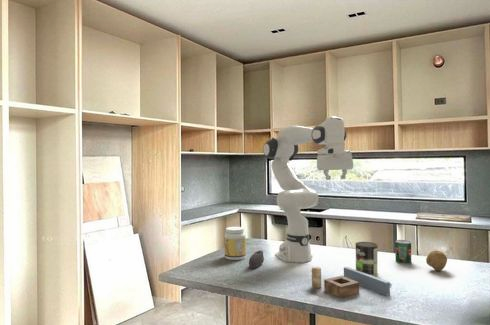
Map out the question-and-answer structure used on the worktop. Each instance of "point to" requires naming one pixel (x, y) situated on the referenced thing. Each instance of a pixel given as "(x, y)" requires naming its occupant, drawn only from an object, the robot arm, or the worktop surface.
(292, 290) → the worktop surface
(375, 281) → the wall
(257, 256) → the perforated stone tool
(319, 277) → the dowel
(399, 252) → the canned tomato
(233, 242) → the supplement tub
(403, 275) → the worktop surface
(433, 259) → the natural sponge
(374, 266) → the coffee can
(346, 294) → the block
